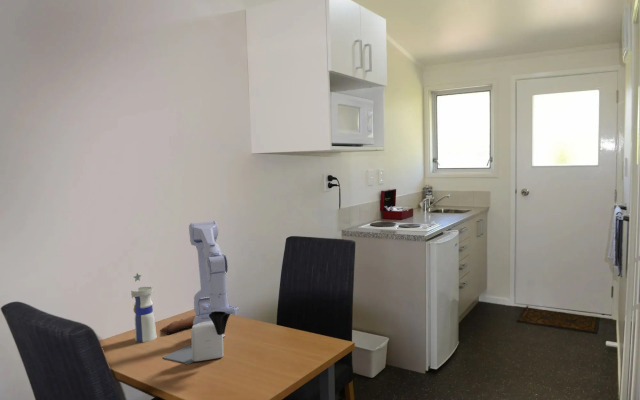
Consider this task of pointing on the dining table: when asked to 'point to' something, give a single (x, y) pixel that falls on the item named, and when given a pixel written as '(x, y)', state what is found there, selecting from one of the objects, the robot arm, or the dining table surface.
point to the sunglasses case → (178, 325)
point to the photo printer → (206, 342)
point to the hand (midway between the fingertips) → (221, 333)
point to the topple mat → (181, 355)
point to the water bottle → (144, 314)
